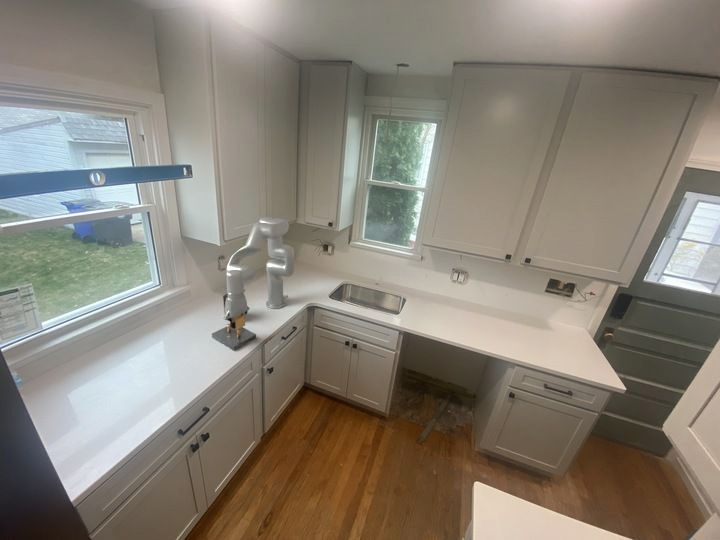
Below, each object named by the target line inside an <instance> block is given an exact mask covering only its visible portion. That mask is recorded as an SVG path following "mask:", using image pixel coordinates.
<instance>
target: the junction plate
mask: <svg viewBox="0 0 720 540" xmlns="http://www.w3.org/2000/svg"><path fill="white" fill-rule="evenodd" d="M211 338H212V339H214V340H215V341H217V342H219V343H220V344H222V345H223V344H224V346H225V347H226V348H228V347H229V348H228V349H230V350H232V351H233V350H234V351H236V350H238V349H241V347H243V346H246V345H247V344H248V343H250V342H252V341H254V340H255V339H257V334H256V333H254V332H253V331H250V330H249V329H248V328H245V327H244V326H243V327H241V328H239V329H233V328H232V327H231V326H230V323H228V324H226V326H224V327H223V328H220V329H219V330H216V331H215V332H213V333H211Z"/></svg>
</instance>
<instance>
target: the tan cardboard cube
mask: <svg viewBox="0 0 720 540" xmlns="http://www.w3.org/2000/svg"><path fill="white" fill-rule="evenodd" d="M234 322H235V327H236V328H235V329H239V328H241V327H243V328H244V327H245V326H246V317H245V316H243V315H241V314H240V315H238V316H236V317H235V320H234Z"/></svg>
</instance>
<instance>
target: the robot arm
mask: <svg viewBox="0 0 720 540" xmlns="http://www.w3.org/2000/svg"><path fill="white" fill-rule="evenodd" d="M289 226H290V225H289V222H288V220H287V219H283V218H277V217H276V218H275V217H269V216H262V217H260V218H259V220H258V222H255V223H254V224H253V225H252V228H251V230H250V232H249V235H248V238H247V240H246V242H245V245H244V246H242V247H241V248H239V249H238V250H236V252H234V253H233V254H232V256H231V257H230V258H229V262H228V264H227V265H226V271H225V278H226V291H227V292H226V294H228V297H227V298H226V303H225V313H224V317H223V320H225V321H228V322H229V324H230V326H231V327H232V328H233V329H235V328H236V327H235V322H234V320H235V317H236V316H238V315H240V314H241V315H243V316H245V318H246V316H247V314H248V312H249V310H250V307H249V306H248V302H247V298H246V294H245V292H246V288H244V283H247V282H250V281H253V280H254V278H255V277H256V274H257V271H256V269H255V268H254V267H253V266H250V265H244V264H240V262H241V261H242V260H244V259H245V258H248V257H250V256H254V255H257V254H259V253H261V252H262V250H263V247H264V244H265V242H266V240H267V253H268V257H269V258H271V259H269V260H267V262H266V263H265V270H266V271H265V272H266V274H267V276H266V277H267V300H266V302H265V306H266V307H267V308H269V309H274V310H275V309H277V310H278V309H282V308H283V307H285V306H286V303H287V302H286V299H288V298H289V296H288V294H287V295H285V294H284V279H283V277H287V278H289V277H292V276H293V274H294V272H295V271H294V270H295V249H294V247H292V246H291V245H289V244H283V236H284V235H286V234H287V233H288V232H289V229H290V227H289ZM229 315H230V316H229ZM228 316H229V318H228Z"/></svg>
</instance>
